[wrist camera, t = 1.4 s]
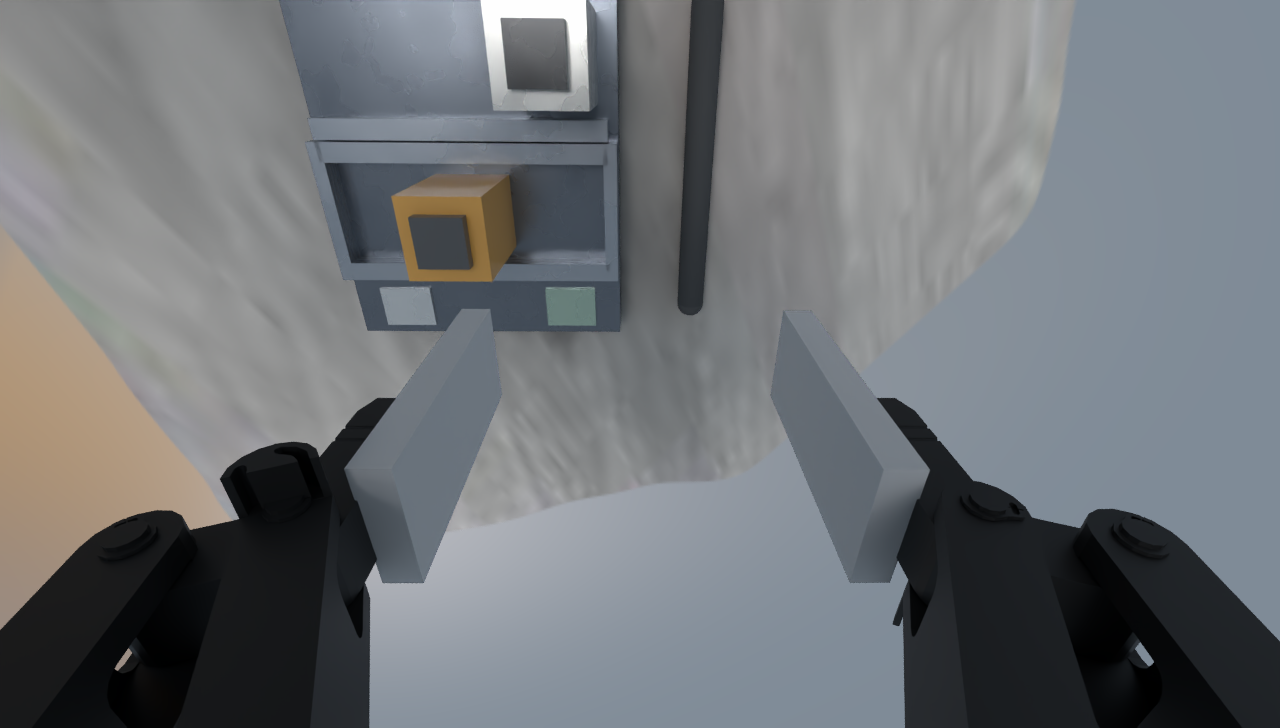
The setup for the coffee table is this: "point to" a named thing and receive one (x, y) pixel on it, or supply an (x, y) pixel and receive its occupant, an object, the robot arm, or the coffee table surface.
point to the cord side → (699, 149)
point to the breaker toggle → (456, 227)
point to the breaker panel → (469, 147)
